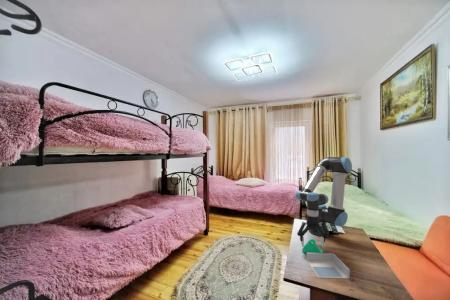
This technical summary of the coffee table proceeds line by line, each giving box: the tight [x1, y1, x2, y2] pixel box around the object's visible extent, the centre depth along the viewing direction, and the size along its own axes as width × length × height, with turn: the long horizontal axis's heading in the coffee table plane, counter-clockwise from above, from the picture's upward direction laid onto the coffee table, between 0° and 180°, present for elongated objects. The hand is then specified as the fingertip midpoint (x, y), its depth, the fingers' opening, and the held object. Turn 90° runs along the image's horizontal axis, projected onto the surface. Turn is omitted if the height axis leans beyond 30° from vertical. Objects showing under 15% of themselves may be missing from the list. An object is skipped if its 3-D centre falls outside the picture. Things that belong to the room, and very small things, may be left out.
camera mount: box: [301, 238, 324, 254], centre depth 133 cm, size 12×8×10 cm, turn 55°
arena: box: [306, 252, 351, 280], centre depth 115 cm, size 17×17×5 cm
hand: (312, 246), depth 133 cm, fingers open, 13 cm apart
